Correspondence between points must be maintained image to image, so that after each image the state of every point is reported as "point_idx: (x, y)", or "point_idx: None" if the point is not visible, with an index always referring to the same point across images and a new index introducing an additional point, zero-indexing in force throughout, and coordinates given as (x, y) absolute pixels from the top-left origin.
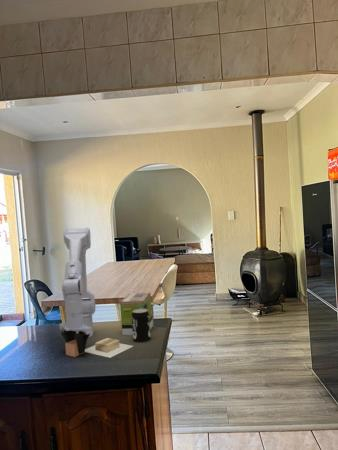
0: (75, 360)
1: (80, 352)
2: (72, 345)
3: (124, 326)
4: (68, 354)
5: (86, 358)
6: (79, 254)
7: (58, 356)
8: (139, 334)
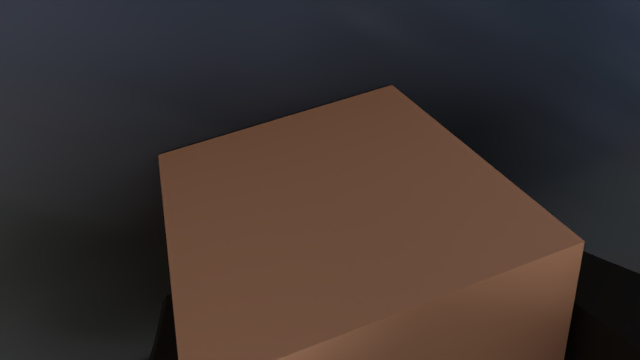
0: (117, 150)
1: (164, 322)
2: (250, 348)
3: None
4: (352, 133)
5: (68, 309)
6: None
7: (551, 11)
8: None
